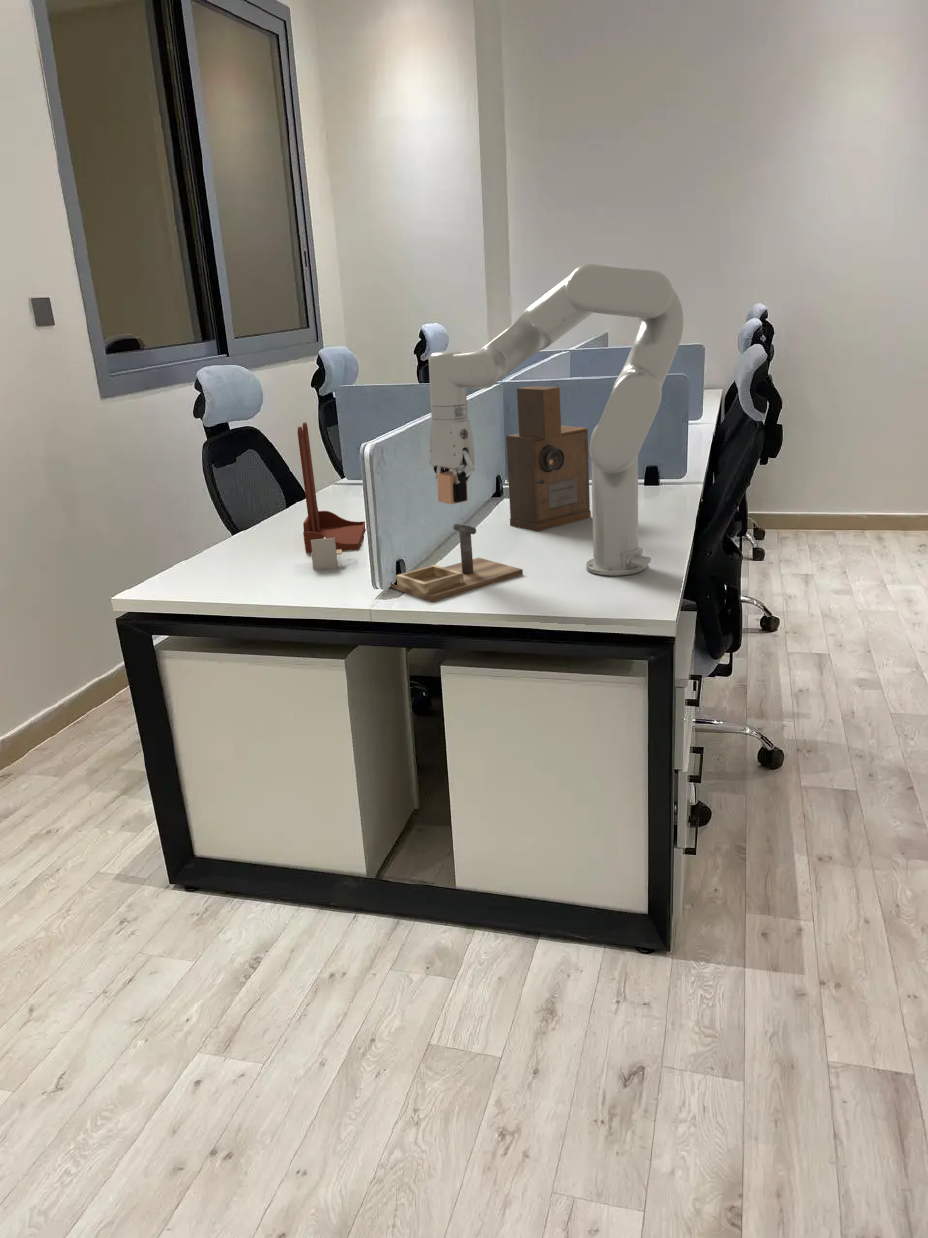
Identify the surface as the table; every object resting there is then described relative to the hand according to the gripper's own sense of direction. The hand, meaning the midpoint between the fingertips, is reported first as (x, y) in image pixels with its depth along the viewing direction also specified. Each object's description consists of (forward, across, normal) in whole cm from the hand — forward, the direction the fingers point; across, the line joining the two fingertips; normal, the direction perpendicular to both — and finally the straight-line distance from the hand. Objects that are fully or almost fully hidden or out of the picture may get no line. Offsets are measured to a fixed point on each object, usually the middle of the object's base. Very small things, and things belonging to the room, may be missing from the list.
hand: (452, 498), depth 200 cm
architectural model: (+18, +27, +17) cm, 37 cm away
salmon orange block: (+1, 0, 0) cm, 1 cm away
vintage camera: (+16, +16, -44) cm, 49 cm away
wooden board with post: (+16, -6, +4) cm, 18 cm away
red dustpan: (+18, +48, +2) cm, 52 cm away
